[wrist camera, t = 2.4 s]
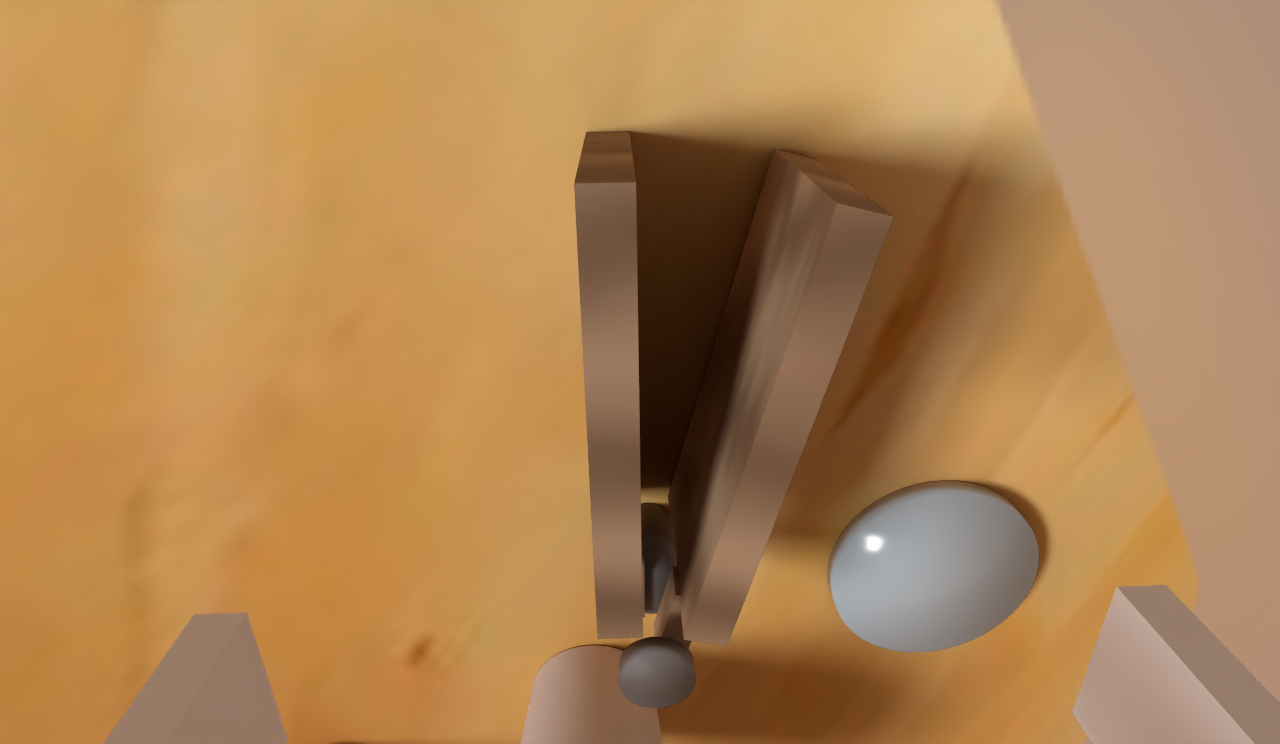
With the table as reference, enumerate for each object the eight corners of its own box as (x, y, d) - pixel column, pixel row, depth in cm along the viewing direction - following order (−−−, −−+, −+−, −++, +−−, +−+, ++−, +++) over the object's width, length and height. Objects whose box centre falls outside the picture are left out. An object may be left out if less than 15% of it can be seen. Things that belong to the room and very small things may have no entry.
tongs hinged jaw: (768, 147, 27) (830, 201, 19) (814, 158, 27) (893, 216, 20) (648, 545, 35) (658, 696, 27) (684, 551, 36) (704, 703, 28)
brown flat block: (586, 132, 27) (574, 185, 19) (681, 130, 27) (709, 182, 19) (604, 548, 36) (601, 710, 27) (676, 546, 36) (694, 706, 27)
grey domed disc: (838, 483, 34) (845, 496, 33) (1049, 477, 35) (1060, 490, 34) (818, 640, 39) (823, 655, 38) (1005, 634, 39) (1014, 649, 38)
